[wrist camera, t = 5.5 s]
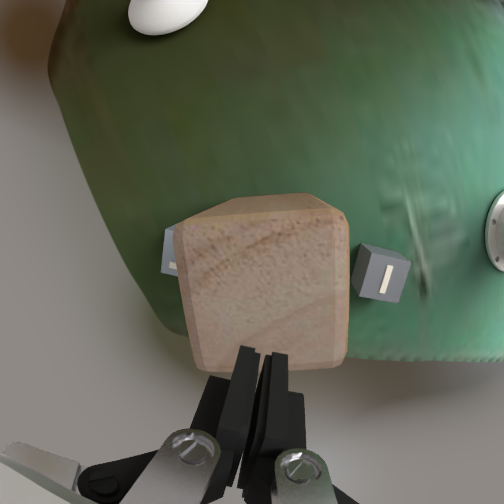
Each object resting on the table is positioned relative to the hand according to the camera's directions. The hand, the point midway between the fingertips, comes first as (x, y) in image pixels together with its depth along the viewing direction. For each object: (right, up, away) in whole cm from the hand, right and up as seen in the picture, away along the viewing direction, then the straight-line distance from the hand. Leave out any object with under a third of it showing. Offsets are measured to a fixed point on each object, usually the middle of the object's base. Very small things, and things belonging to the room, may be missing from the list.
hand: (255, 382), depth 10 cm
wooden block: (+2, +6, +26) cm, 27 cm away
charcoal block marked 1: (+15, +3, +26) cm, 30 cm away
